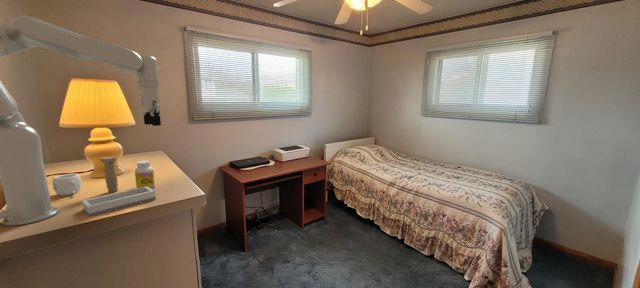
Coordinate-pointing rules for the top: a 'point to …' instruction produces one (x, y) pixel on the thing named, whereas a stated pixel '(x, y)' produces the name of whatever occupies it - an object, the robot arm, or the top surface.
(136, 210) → the top surface
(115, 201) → the track
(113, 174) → the handle
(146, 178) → the supplement bottle
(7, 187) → the robot arm
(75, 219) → the top surface
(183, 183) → the top surface
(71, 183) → the mug
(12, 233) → the top surface
